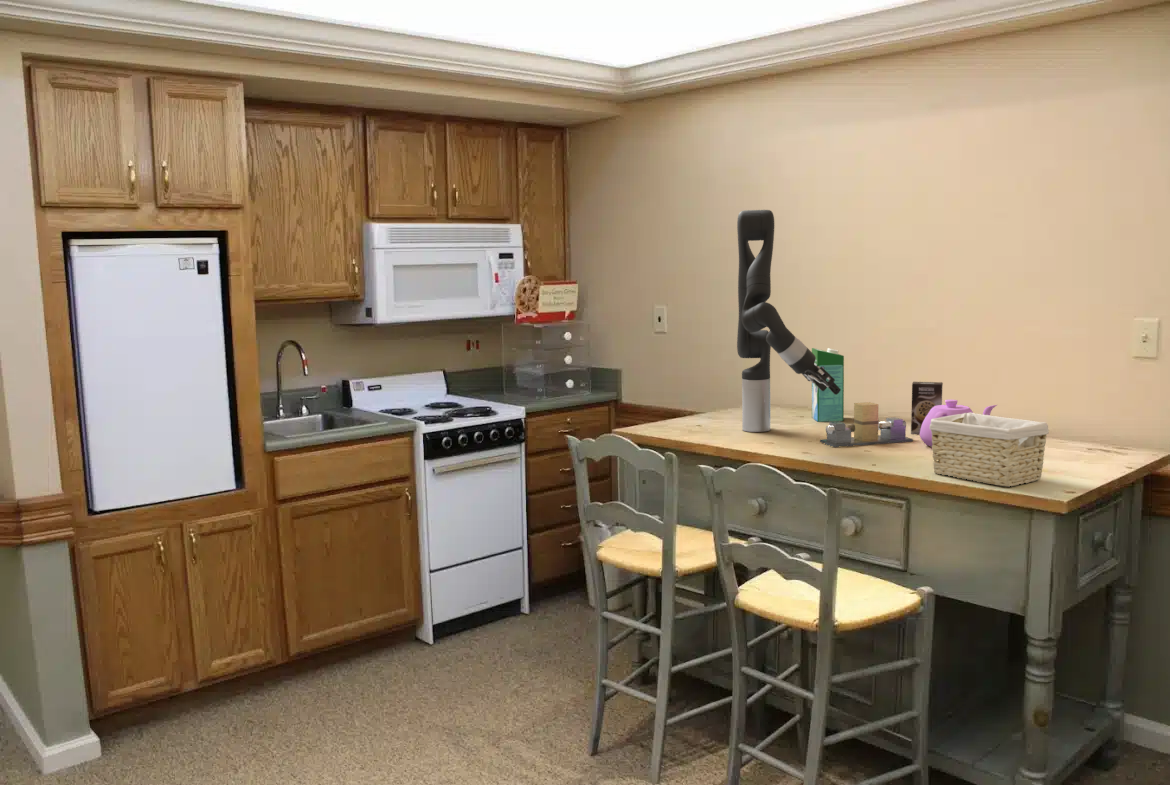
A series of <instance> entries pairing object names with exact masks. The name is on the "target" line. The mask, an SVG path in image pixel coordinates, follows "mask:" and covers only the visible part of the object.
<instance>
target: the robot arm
mask: <svg viewBox="0 0 1170 785" xmlns="http://www.w3.org/2000/svg"><path fill="white" fill-rule="evenodd" d="M736 226H737V227H736V229H737V230H736V231H737V247H738V273H737V274H738V276H737V280H738V281H737V294H738V295H737V297H738V298H737V299H738V300H737V302H738V319H737V320H738V323H737V325H738V326H737V334H736V335H737V337H736V340H737V341H736V350H737V355H738V356H739V357H740V358H741V359H760V360H759V361H758V363H756V364H754V365H752V366H750V367H746V368H745V369H743V370H742V372H741V398H742V400H741V402H742V403H741V404H742V406H741V408H742V409H741V410H742V415H741V416H742V417H741V418H742V419H741V420H742V421H741V422H742V424H741V425H742V428H741V429H742V431H744V432H748V433H749V432H751V433H760V432H761V433H763V432H768V431H771V348H772V349H773V350H774V351H775V352H776V353H777V354H778V356H779V357H780V358H781V359H782V360H783V361H784V362H785V364H787V365H788V366H789V367H790V368H791V370H793V372H795V374H798V375H802V376H803V377H804V378H805V379H806V380H807V381H808V382H811V384H812V383H814V384H815V385H816V386H817V387H818V388H819V389H820V390H821V391H825V389H826V388H827V387H828V388H829V389H830V390H831V391H832V392H833V393H834V394H836V395H837V394H838V393H839V392H840V391H841V389H840V388H839V387H838V386H837V385H836V384H835V383H834V381H835V379H834V378H833V377H832V376H831V375H830V374H829V373H828V372H827V371H826V370H825V369H823V367H819V366H818V365H817V366H816V365H814V362H815V360H816V357H815V355H814V354H813V353H812V350H810V349H809V348H808V347H807V346H806V345H805V344H804V343H803V341H801V340H800V339H799V338H797V336H795V335H794V334H793V333H792V331H790V329H788V327H786V325H785V322H784V320H783V319H782V317H781V316H780V314H779V312H778V310H777V308H776V307H775V306H774V305H773V304H771V303H769V302H767V301H768V300H769V299H770V297H771V294H772V293H771V292H772V290H771V288H772V286H771V285H772V284H771V270H772V259H773V252H774V251H773V250H774V241H775V240H774V239H775V216H774V213H773V211H772V210H770V209H750V210H749V209H748V210H747V209H746V210H741V211H740V212H739V213H738V216H737V225H736ZM750 241H751V242H752V241H755V242H756V241H763V242H762V246H761V249H760V251H758V252H759V253H758V254H757V255H756V257H755V255H754V253H753V251H752V249H751V247H750V243H749V242H750ZM765 328H768V330H767V329H765ZM820 378H821V379H820ZM826 379H828V380H829V381H828V382H827V381H826Z"/></svg>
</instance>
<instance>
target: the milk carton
mask: <svg viewBox="0 0 1170 785" xmlns="http://www.w3.org/2000/svg"><path fill="white" fill-rule="evenodd" d="M811 352H812V353H813V354H814V355H815V357H816V360H815V362H814V365H816V366H817V365H818V366H819V367H823V369H825V370H826V371H827V372H828V373H829V374H830V375H831V376H832V377H833V378H834V379H835V381H834V383H835V384H836V385H837V386H838V387H839V388H840V389H841V391H840V392H839V393H838V394H837V395H836V394H834V393H833V392H832V391H831V390H830V389H829V388H828V387H827V388H826V389H825V391H821V390H820V389H819V388H818V387H817V386H816V385H815V384H814V383H812V382H811V418H812V419H813V420H814V421H816V422H817V423H821V422H822V423H826V422H834V421H840V422H844V420H845V419H844V414H845V413H844V408H845V407H844V403H845V402H844V401H845V398H844V396H845V395H844V394H845V391H844V390H845V388H844V387H845V381H844V380H845V372H844V371H845V368H844V366H845V356H844V355H842V354H839V350H838V349H833V348H830V347H827V350H823V349H818V348H814V347H812V348H811ZM820 379H821V378H820ZM826 381H827V382H828V381H829V380H828V379H826Z"/></svg>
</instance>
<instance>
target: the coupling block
mask: <svg viewBox="0 0 1170 785" xmlns="http://www.w3.org/2000/svg"><path fill="white" fill-rule="evenodd" d="M853 404H854V405H853V411H854V413H853V418H854V419H853V424H854V425H855V431H854V432H853V437H854V439H857V440H860V441H875V440H878V435H879V430H878V424H879V422H880V421H879V404H878V403H875V402H871V401H869V402H866V401H865V402H854V403H853Z"/></svg>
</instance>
